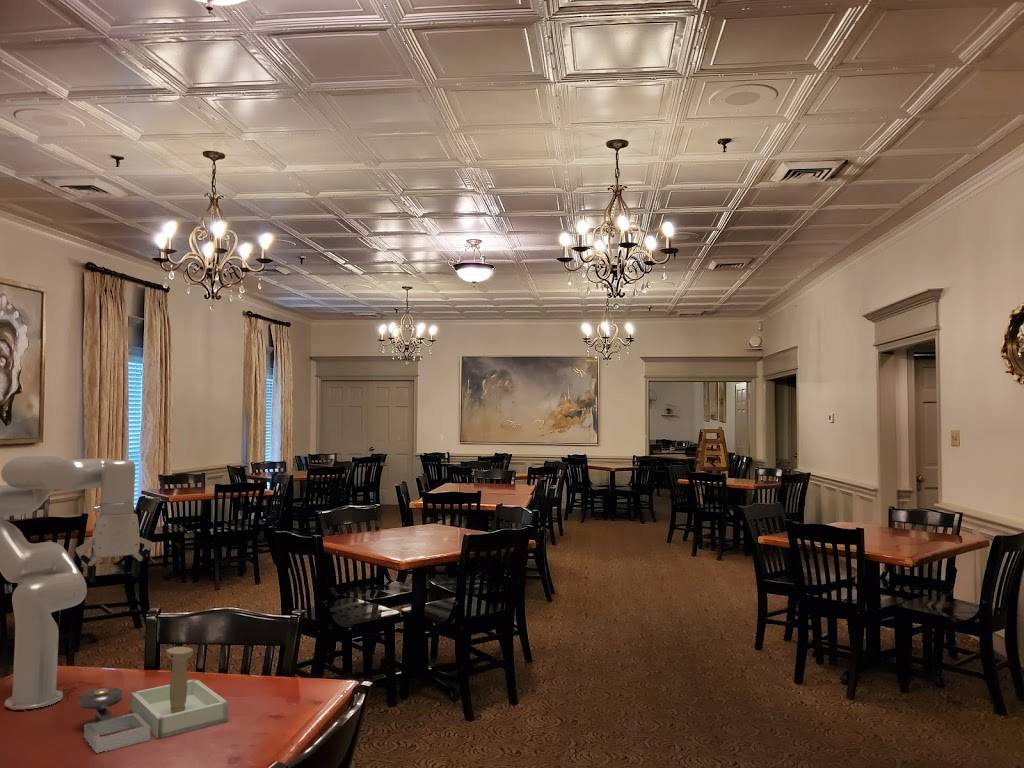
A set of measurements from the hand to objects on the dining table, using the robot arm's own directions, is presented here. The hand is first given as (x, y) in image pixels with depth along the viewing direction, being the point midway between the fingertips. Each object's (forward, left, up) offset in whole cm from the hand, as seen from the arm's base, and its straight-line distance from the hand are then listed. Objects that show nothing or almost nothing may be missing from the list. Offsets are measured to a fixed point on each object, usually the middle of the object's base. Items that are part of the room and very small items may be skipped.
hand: (113, 578), depth 185 cm
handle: (+11, +13, -32) cm, 37 cm away
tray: (+11, +13, -33) cm, 37 cm away
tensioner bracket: (+11, -2, -33) cm, 35 cm away
